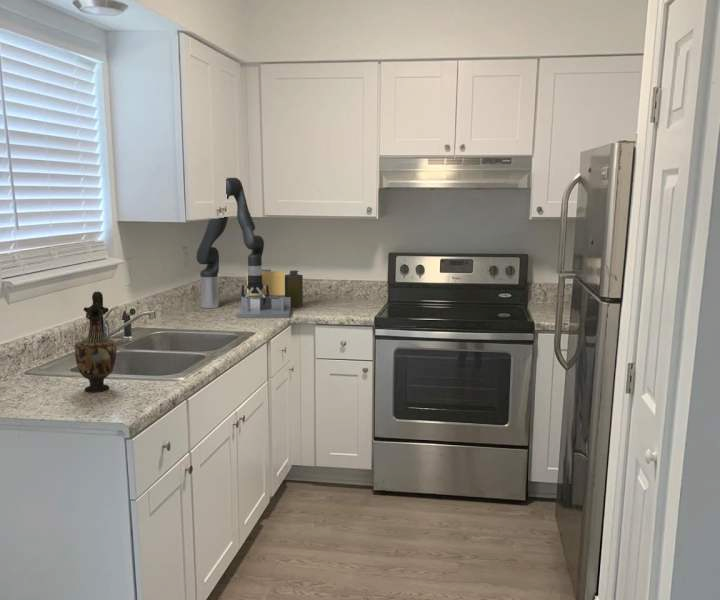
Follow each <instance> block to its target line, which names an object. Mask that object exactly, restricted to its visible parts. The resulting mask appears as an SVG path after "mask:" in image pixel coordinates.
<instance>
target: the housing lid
mask: <svg viewBox="0 0 720 600" xmlns="http://www.w3.org/2000/svg"><path fill="white" fill-rule="evenodd" d="M247 272H248V270H247V271H246V286H247V285H248V274H247ZM285 275H286V271H285V270H283V271H281V270H278V271H277V270H275V271H273V270H271V269H262V284H263V286H265V285H268V286H269V297H285ZM262 291H263V293H264V294H265V295H266V290H265V288H263V289H262ZM248 292H249V290H248V288H246V294H247V293H248ZM248 297H263V296H262V295H261V294H260V293H258V294H256V293H254V294H252V293H250V294H249V296H248Z"/></svg>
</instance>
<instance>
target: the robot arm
mask: <svg viewBox="0 0 720 600" xmlns="http://www.w3.org/2000/svg"><path fill="white" fill-rule="evenodd" d="M226 178H227V179H226V194H227V199H228V200H229V198H230V197H232V196H233V197H234V199H235V202H236V207H237V211H236V218H237V222H238V224H239V226H240V229H241V231H242V232H241V233H242V237H243V242H244V245H245V247H246V248H247V249H248V250H251V253H250V254H248V256H247V271H248V272H247V271H246V275H247V274H248V285H247V284H246V285H245V284H242V285H241V292H240V293H241V297H244V298H248V297H250V296H249V294H250V293H252V294H254V293H256V294H258V293H260V294H261V295H262V296H261V297H263V305H265V303H266V297H270V296H269V286H268V285H265V286H263V284H262V270H263V266H262V256H263V253H264V248H265V242H264V238H263V237H262V236H261V235H255V234H254V231H255V230H256V226H255V223H254V221H253V217H252V216H251V213H250V210H249V207H248V202H247V199H246V195H245V190H244V187H243V184H242V181H241V180H240V179H239V178H238V177H226ZM228 220H229V216H228V217H224V218H219V219H211V220H208V223H207V226H206V228H205V232H204V235H203V237H202V240H201V242H200V244H199V246H198V249H197V252H196V262H198V264H199V265H206V267H205V268H204V269H202V270H201V271H200V295H201V296H200V303H201V308H203V309H216V308H219V279H218V278H219V277H218V274H219V268H220V254H219V251H218V249H217V248H216V247H214V246H213V244H215V242H216V241H217V239H218V238H219V237H220V236H221V235H222V234H223V233H224V231H225V230H226V227H227V225H228ZM247 288H248V290H249V292H248V293H247V292H246V294H245V290H247ZM263 288H265V290H266V295H265V294H264V293H263V291H262V289H263Z"/></svg>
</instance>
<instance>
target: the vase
mask: <svg viewBox="0 0 720 600" xmlns="http://www.w3.org/2000/svg"><path fill="white" fill-rule="evenodd" d="M103 296H104V295H103V293H102V292H101V291H94V292H93V293H92V296H91V298H92V305H90V306H88V307H87V306H85V307H84V308H83V311H84V312H85V318H86V319H87V320H89V325H88V326H89V328H88V334H87V337H86V338H85V339H82V340H80V341H78V342H77V343H76V344H75V348H74V355H75V363H76V366H77V370H78V371H79V373H80V375H82V377H84V378H85V379H86V380H87V381H89V385H88V386H86V387H84V392H86V393H102V392H106V391H108V390H109V389H110V385H108V384H105V383H104V381H105V379H106V378H107V377H109V376H110V375H111V373H112V371H113V370H114V367H115V365H116V360H117V352H118V351H117V343H116V342H115V341H114V340H112V339H111V338H107V337H106V334H105V330H104V329H105V328H104V324H105V323H104V315H106V313H108V312H109V308H108V307H104V297H103Z"/></svg>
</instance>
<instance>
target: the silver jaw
mask: <svg viewBox="0 0 720 600" xmlns="http://www.w3.org/2000/svg"><path fill="white" fill-rule="evenodd" d="M260 310H261V298H251V299H250V311H260Z"/></svg>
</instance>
